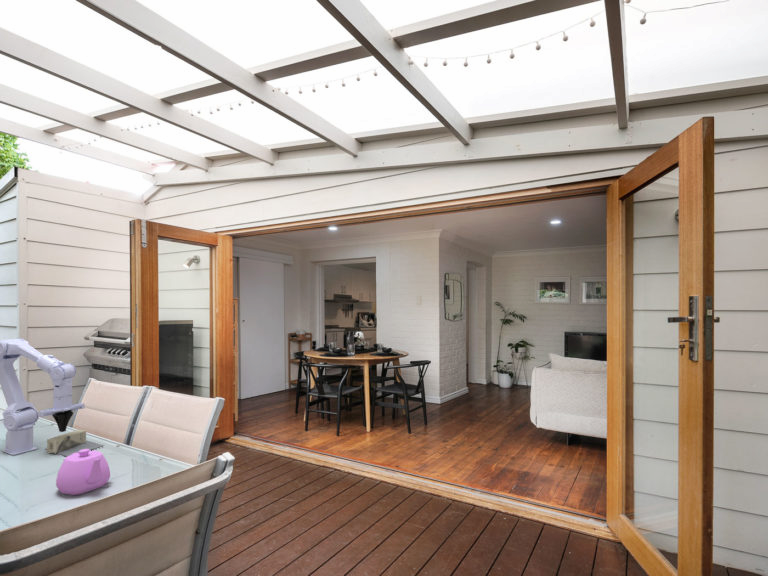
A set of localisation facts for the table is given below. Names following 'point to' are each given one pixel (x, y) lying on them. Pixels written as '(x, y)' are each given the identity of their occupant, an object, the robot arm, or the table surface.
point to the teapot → (82, 472)
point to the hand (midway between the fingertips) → (62, 431)
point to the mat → (79, 448)
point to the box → (66, 441)
